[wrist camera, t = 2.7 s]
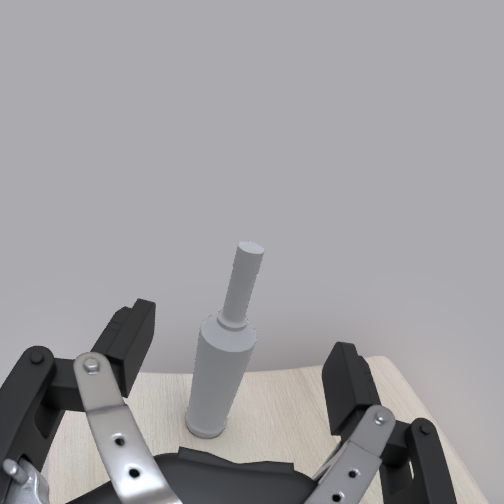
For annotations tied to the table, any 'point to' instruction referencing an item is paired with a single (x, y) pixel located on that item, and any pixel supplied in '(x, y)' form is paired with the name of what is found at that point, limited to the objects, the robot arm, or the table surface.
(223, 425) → the bottle
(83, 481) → the table surface
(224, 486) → the robot arm
